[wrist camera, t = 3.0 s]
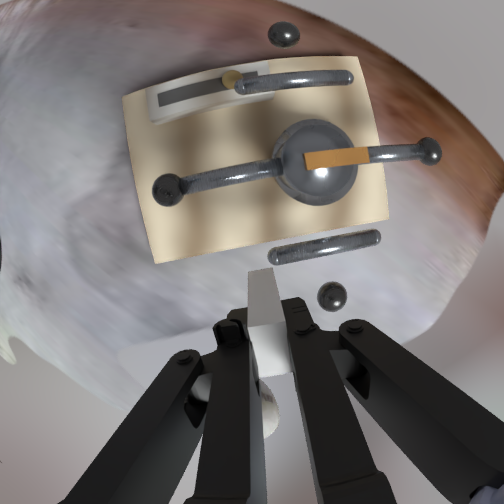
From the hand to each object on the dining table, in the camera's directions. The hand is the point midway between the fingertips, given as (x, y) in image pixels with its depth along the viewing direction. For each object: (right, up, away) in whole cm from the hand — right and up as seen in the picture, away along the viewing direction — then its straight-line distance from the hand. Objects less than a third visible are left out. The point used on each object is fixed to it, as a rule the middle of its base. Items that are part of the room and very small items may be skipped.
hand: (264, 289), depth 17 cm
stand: (0, +11, +6) cm, 13 cm away
